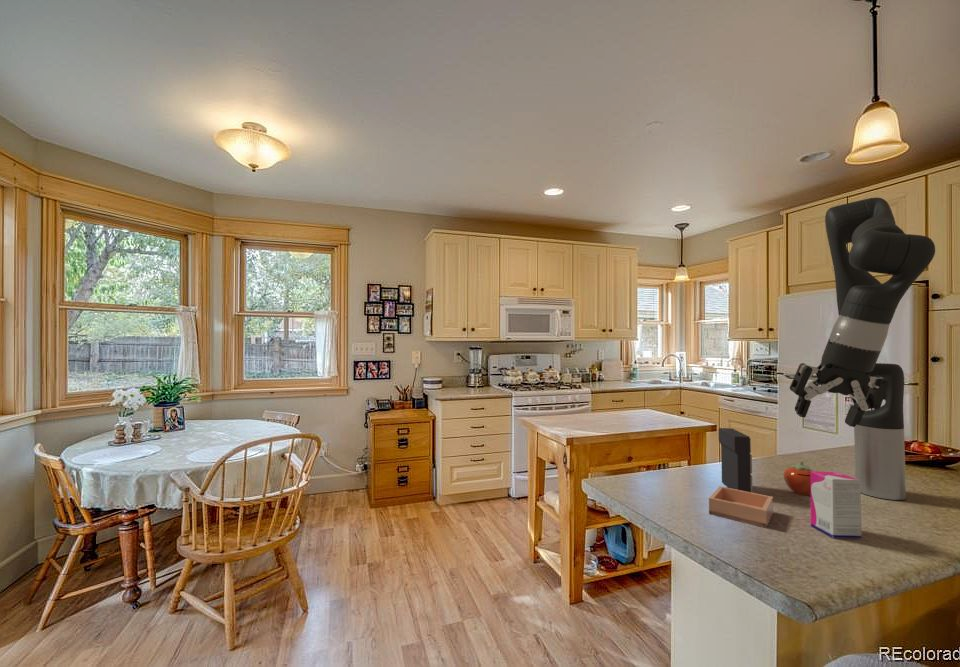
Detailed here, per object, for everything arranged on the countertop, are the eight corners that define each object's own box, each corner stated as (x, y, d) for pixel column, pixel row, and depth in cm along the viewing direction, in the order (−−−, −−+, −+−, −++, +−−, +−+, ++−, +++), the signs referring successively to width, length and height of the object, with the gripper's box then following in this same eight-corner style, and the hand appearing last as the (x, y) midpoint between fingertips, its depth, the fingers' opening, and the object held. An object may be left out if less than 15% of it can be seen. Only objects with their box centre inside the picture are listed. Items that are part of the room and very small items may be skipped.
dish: (720, 500, 100) (719, 486, 100) (773, 512, 93) (772, 496, 93) (709, 513, 92) (708, 498, 92) (766, 527, 85) (766, 510, 85)
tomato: (791, 496, 103) (790, 463, 103) (778, 486, 110) (778, 456, 110) (826, 499, 101) (825, 466, 101) (811, 488, 108) (810, 458, 108)
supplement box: (863, 538, 80) (861, 479, 81) (832, 538, 80) (831, 479, 81) (837, 525, 86) (836, 470, 86) (809, 525, 86) (808, 470, 86)
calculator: (754, 497, 102) (753, 436, 102) (735, 496, 103) (734, 436, 103) (736, 483, 113) (735, 428, 113) (719, 482, 113) (718, 427, 114)
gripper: (885, 343, 78) (854, 419, 83) (802, 330, 81) (776, 404, 86) (915, 355, 71) (879, 437, 76) (822, 340, 74) (793, 420, 79)
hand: (824, 420), depth 81 cm, fingers open, 8 cm apart
